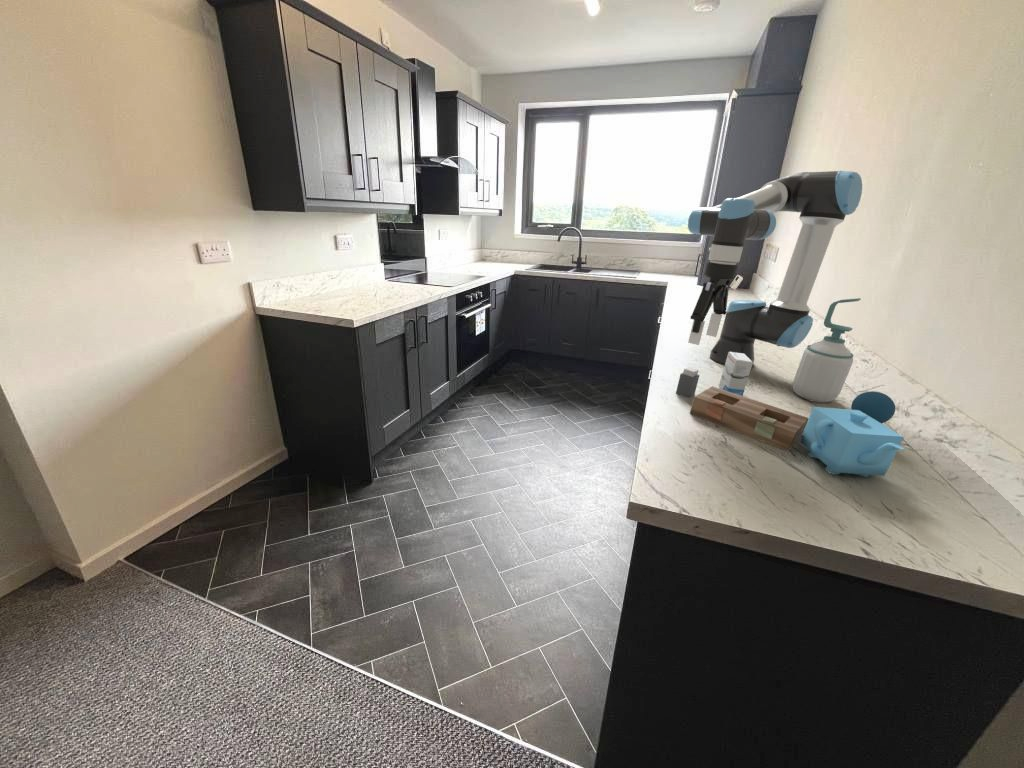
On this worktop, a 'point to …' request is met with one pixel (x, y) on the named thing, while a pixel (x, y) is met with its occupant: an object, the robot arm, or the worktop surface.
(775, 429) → the socket block
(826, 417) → the teapot
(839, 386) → the soap bottle
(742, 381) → the ink box
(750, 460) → the worktop surface
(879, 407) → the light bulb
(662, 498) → the worktop surface
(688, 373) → the plug
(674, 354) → the worktop surface
